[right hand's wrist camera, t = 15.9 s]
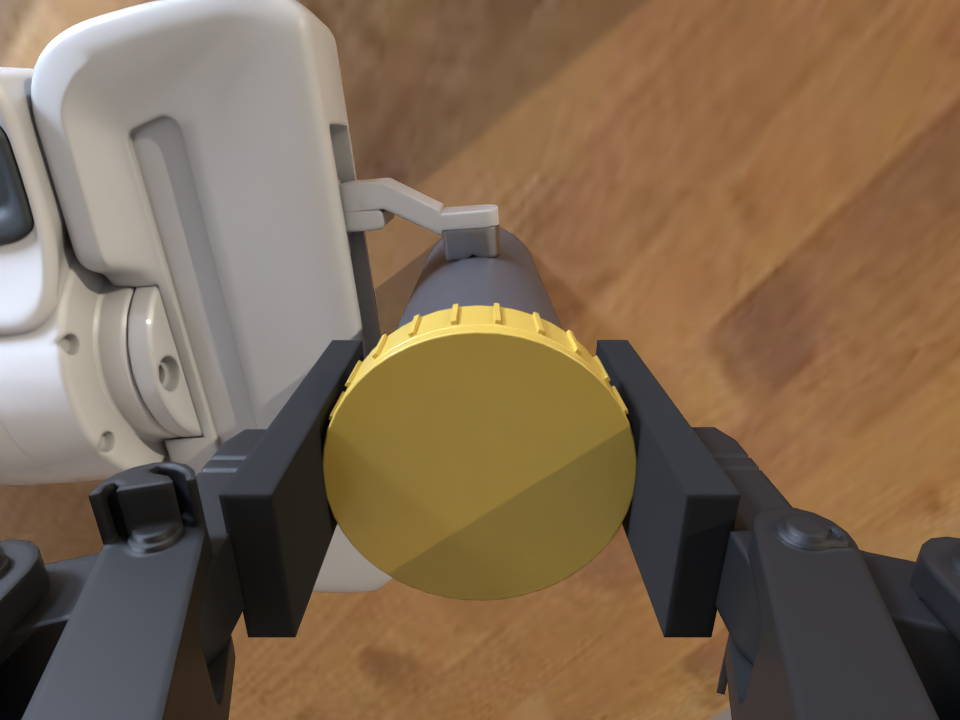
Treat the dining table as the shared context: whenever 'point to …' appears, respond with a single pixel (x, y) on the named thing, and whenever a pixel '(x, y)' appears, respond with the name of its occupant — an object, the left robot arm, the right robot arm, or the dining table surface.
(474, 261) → the jar
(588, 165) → the dining table surface
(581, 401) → the lid
